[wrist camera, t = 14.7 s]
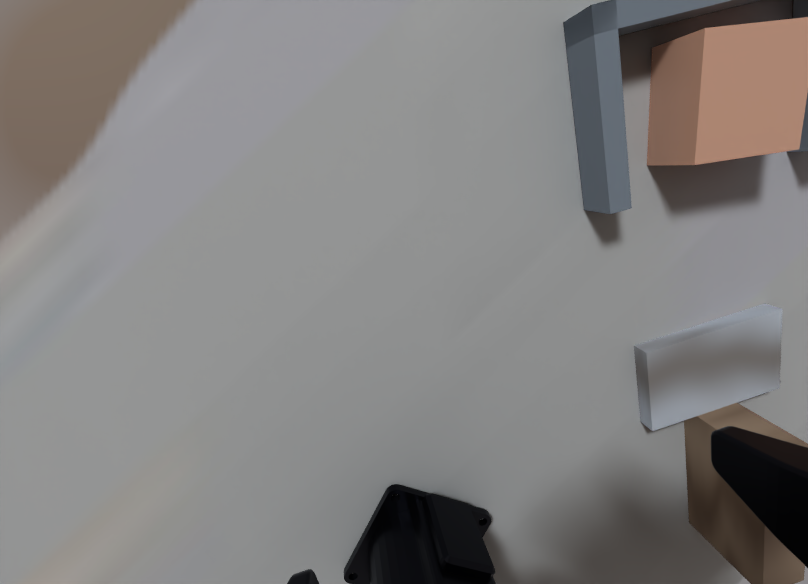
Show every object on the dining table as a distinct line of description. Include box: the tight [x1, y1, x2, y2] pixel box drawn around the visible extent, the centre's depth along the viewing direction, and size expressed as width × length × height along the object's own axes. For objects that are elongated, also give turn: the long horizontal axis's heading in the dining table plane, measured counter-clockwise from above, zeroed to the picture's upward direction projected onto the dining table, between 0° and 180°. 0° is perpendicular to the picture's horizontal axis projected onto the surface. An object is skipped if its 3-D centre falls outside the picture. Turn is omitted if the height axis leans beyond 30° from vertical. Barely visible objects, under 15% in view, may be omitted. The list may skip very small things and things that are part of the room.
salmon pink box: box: [647, 17, 808, 165], centre depth 18 cm, size 5×5×3 cm
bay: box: [563, 0, 808, 214], centre depth 18 cm, size 8×12×2 cm, turn 104°
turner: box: [634, 304, 808, 584], centre depth 23 cm, size 14×8×5 cm, turn 14°
